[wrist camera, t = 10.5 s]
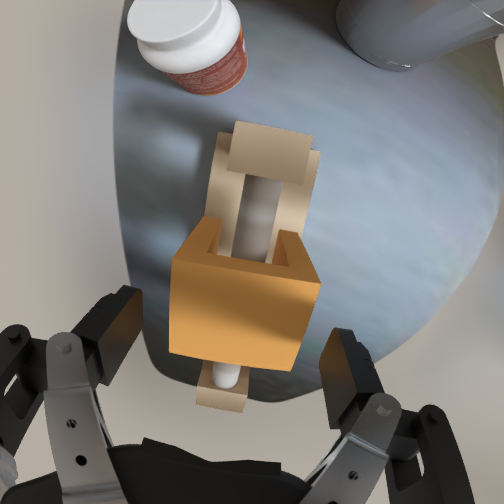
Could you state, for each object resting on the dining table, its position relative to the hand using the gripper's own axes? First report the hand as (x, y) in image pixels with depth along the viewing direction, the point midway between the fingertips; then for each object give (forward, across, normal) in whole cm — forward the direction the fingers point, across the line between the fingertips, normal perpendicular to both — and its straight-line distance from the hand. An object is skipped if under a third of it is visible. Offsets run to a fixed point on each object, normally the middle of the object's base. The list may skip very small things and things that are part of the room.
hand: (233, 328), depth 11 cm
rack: (+14, 0, 0) cm, 14 cm away
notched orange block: (+8, 0, 0) cm, 8 cm away
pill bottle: (+14, +6, -14) cm, 20 cm away
